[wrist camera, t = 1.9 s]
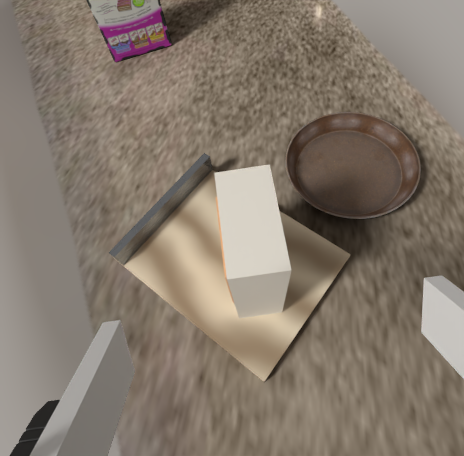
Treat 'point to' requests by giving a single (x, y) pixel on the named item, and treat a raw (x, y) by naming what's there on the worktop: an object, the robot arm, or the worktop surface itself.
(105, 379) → the robot arm
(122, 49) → the candy bar box
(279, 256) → the carton
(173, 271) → the shelf board
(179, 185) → the rail
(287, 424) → the worktop surface
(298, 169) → the plant saucer
